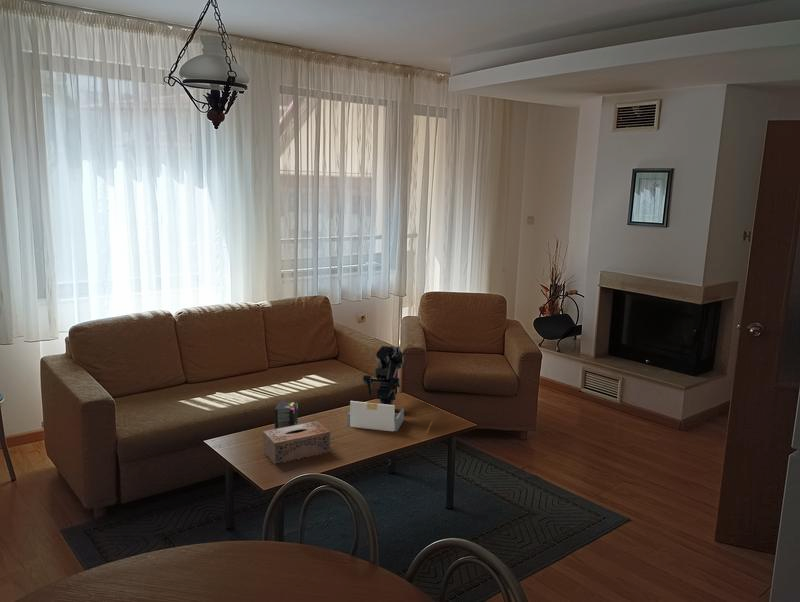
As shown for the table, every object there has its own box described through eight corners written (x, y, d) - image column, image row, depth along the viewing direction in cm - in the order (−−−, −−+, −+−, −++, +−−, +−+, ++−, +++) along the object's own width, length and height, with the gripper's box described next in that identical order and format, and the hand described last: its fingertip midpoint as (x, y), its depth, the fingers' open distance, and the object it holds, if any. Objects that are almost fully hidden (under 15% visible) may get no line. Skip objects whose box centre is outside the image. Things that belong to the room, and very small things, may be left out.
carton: (356, 416, 324) (356, 403, 322) (403, 421, 319) (403, 408, 317) (347, 427, 309) (347, 413, 308) (397, 432, 304) (397, 419, 303)
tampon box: (294, 439, 294) (293, 409, 291) (274, 438, 294) (274, 409, 291) (298, 430, 304) (298, 401, 302) (279, 429, 304) (279, 401, 302)
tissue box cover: (316, 441, 293) (316, 420, 291) (330, 452, 281) (330, 431, 279) (263, 452, 279) (262, 431, 277) (274, 465, 267) (274, 443, 265)
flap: (350, 426, 309) (350, 400, 307) (394, 430, 304) (394, 405, 302) (349, 426, 308) (350, 401, 306) (393, 431, 303) (394, 405, 301)
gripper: (363, 359, 318) (357, 387, 310) (399, 362, 315) (394, 391, 307) (367, 369, 328) (361, 397, 320) (402, 372, 324) (397, 400, 316)
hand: (378, 396), depth 315 cm, fingers open, 9 cm apart
